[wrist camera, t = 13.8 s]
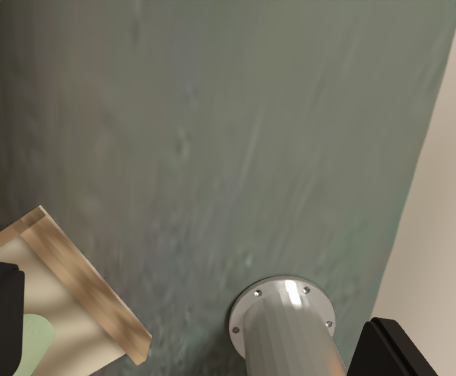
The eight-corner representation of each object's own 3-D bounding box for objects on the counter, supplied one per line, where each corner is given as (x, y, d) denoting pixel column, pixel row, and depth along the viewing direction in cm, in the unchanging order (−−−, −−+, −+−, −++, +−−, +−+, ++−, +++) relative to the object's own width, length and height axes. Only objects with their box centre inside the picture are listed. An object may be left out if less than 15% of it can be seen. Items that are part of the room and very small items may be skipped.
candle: (17, 350, 42) (-29, 411, 34) (6, 314, 41) (-44, 369, 33) (59, 347, 42) (23, 407, 34) (50, 311, 41) (11, 365, 33)
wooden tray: (152, 335, 43) (145, 360, 39) (25, 410, 45) (7, 440, 42) (40, 204, 38) (20, 218, 34) (-96, 296, 40) (-129, 319, 36)
